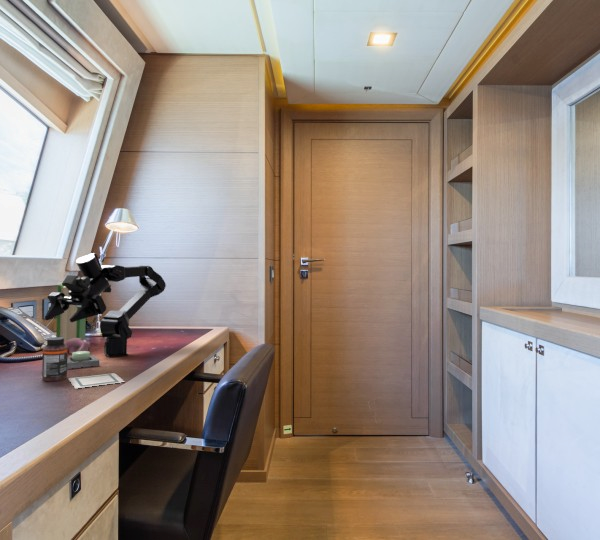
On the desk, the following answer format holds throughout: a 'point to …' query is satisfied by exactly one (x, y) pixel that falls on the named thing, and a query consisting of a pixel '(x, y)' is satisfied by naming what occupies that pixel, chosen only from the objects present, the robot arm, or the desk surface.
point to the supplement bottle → (54, 360)
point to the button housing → (82, 362)
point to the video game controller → (77, 345)
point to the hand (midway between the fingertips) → (58, 320)
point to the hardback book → (63, 321)
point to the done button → (80, 356)
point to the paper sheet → (95, 380)
